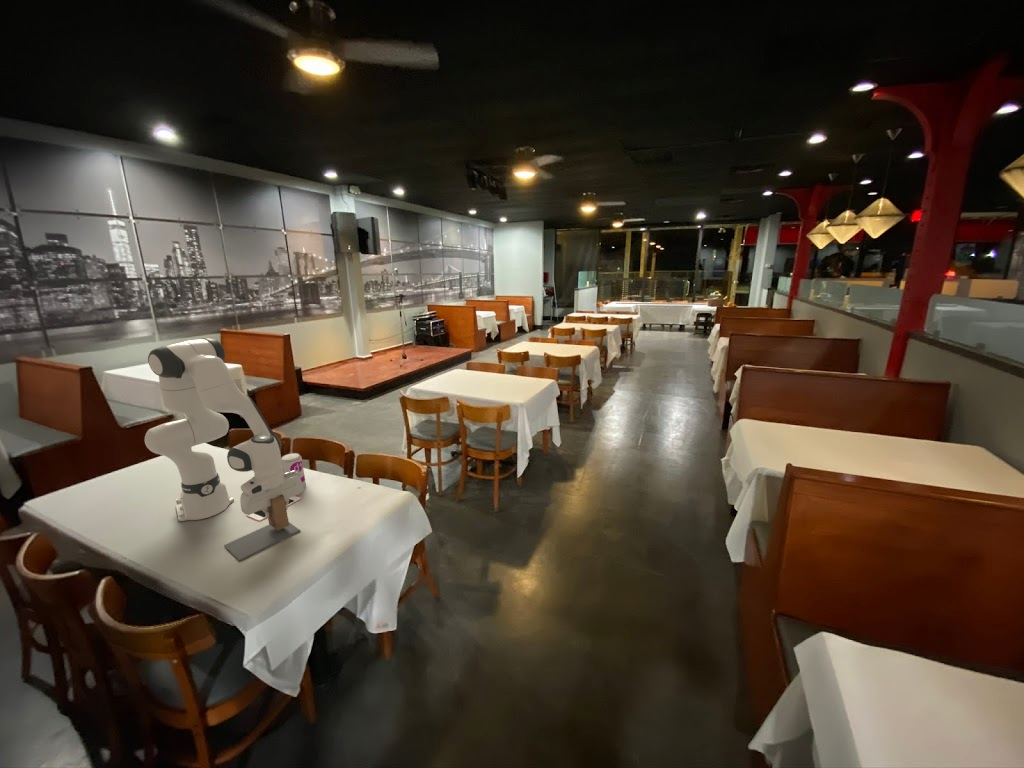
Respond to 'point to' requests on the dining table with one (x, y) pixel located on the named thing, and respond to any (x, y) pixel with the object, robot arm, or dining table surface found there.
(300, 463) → the supplement can
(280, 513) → the walnut block
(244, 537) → the rubber mat
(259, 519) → the cell phone
